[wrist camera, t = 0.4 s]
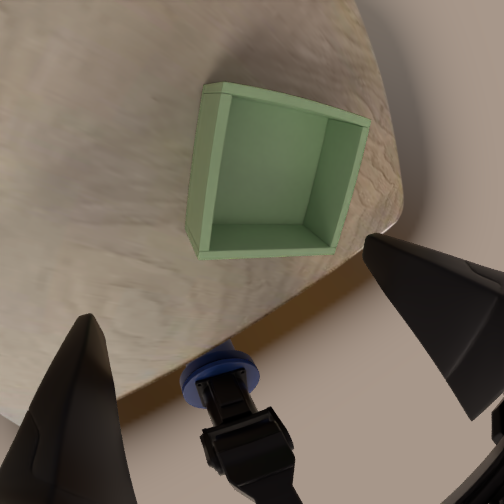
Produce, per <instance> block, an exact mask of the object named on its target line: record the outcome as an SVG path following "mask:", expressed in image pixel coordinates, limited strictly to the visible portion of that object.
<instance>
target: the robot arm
mask: <svg viewBox="0 0 504 504" xmlns="http://www.w3.org/2000/svg"><path fill="white" fill-rule="evenodd" d="M362 256H363V260H364V262H365V264H366V266H367V267H368V269H369V270H370V272H371V273H372V275H373V276H374V278H375V279H376V281H377V283H378V284H379V286H380V287H381V289H382V290H383V292H384V293H385V295H386V296H387V297H388V299H389V300H390V302H391V303H392V304H393V305H394V307H395V308H396V310H397V311H398V312H399V314H400V315H401V316H402V318H403V319H404V320H405V321H406V323H407V324H408V326H409V327H410V329H411V330H412V331H413V333H414V334H415V336H416V337H417V338H418V340H419V341H420V342H421V344H422V345H423V347H424V348H425V350H426V351H427V353H428V354H429V356H430V357H431V359H432V360H433V361H434V363H435V365H436V366H437V368H438V369H439V371H440V372H441V374H442V375H443V377H444V378H445V379H446V382H447V383H448V385H449V386H450V388H451V389H452V391H453V393H454V394H455V396H456V397H457V399H458V401H459V402H460V404H461V406H462V407H463V409H464V411H465V412H466V414H467V415H468V417H469V418H470V420H471V421H473V420H474V419H475V418H476V417H477V416H479V415H480V414H481V413H482V412H483V411H484V410H485V409H486V408H487V407H488V406H490V404H492V402H494V401H495V400H496V399H497V398H498V397H499V396H500V395H501V394H502V393H503V394H504V272H501V271H498V270H494V269H491V268H488V267H484V266H481V265H478V264H475V263H472V262H469V261H467V260H463V259H460V258H457V257H454V256H451V255H448V254H445V253H442V252H439V251H436V250H433V249H430V248H427V247H423V246H420V245H417V244H414V243H410V242H407V241H404V240H400V239H397V238H394V237H390V236H387V235H383V234H380V233H373V234H370V235H368V236H367V237H366V239H365V243H364V249H363V254H362ZM195 386H196V389H197V392H198V394H199V397H200V400H201V403H202V406H203V407H204V408H207V410H208V413H209V416H210V419H211V421H212V424H213V427H211V428H208V429H206V428H205V429H202V431H203V434H202V435H201V436H200V439H201V442H202V445H203V448H204V452H205V456H206V460H207V463H208V465H209V466H210V467H212V468H214V469H215V470H216V471H217V472H218V473H219V475H220V476H221V475H226V477H227V479H228V481H229V483H230V484H231V485H232V487H233V488H234V489H235V490H236V491H238V492H239V493H241V494H242V495H244V496H245V497H247V498H249V499H250V500H252V501H253V502H255V503H256V504H303V503H302V501H301V500H300V498H299V496H298V494H297V493H296V491H295V489H294V487H293V485H292V483H293V475H294V466H295V456H294V454H293V452H292V450H293V449H294V446H293V442H292V440H291V437H290V435H289V433H288V431H287V429H286V428H285V426H284V425H283V423H282V422H281V420H280V419H279V418H278V416H277V415H276V413H275V412H274V410H273V409H272V407H268V408H267V409H264V410H262V411H259V412H258V410H257V408H256V406H255V404H254V402H253V400H252V398H251V396H250V394H249V392H248V387H247V375H246V370H245V368H239V369H236V370H233V371H229V372H226V373H223V374H219V375H216V376H212V377H209V378H205V379H201V380H198V381H196V382H195ZM492 440H493V441H494V443H495V444H496V447H495V448H494V449H493V450H492V451H491V453H490V454H489V455H488V456H487V457H486V458H485V460H484V461H483V462H482V463H481V464H480V465H479V466H478V467H477V468H476V470H475V471H474V472H473V473H472V474H471V475H470V476H469V477H468V478H467V479H466V480H465V481H464V482H463V483H462V484H461V485H460V486H459V487H458V488H457V489H456V490H455V491H454V492H453V493H452V494H451V495H450V496H448V497H447V498H446V499H445V500H444V501H443V502H442V503H441V504H488V503H489V504H504V398H503V399H502V400H501V401H500V403H499V404H498V405H497V406H496V408H495V409H494V410H493V411H492ZM0 504H137V501H136V497H135V494H134V490H133V486H132V482H131V478H130V474H129V469H128V465H127V460H126V456H125V451H124V446H123V440H122V435H121V429H120V423H119V416H118V409H117V402H116V394H115V387H114V381H113V376H112V372H111V367H110V362H109V357H108V351H107V346H106V340H105V336H104V334H103V331H102V330H101V328H100V326H99V324H98V322H97V321H96V319H95V317H94V316H93V314H91V313H89V314H85V315H81V316H79V317H78V318H77V320H76V322H75V323H74V325H73V326H72V328H71V330H70V331H69V333H68V335H67V336H66V338H65V340H64V342H63V343H62V345H61V347H60V349H59V350H58V352H57V354H56V356H55V358H54V359H53V361H52V363H51V365H50V367H49V369H48V370H47V372H46V374H45V376H44V378H43V380H42V382H41V384H40V386H39V388H38V390H37V392H36V394H35V396H34V398H33V400H32V402H31V404H30V406H29V411H27V413H26V415H25V417H24V419H23V422H22V424H21V426H20V428H19V430H18V432H17V435H16V437H15V439H14V441H13V443H12V445H11V447H10V449H9V451H8V453H7V455H6V457H5V459H4V461H3V463H2V465H1V467H0Z"/></svg>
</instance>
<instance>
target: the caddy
mask: <svg viewBox="0 0 504 504" xmlns="http://www.w3.org/2000/svg"><path fill="white" fill-rule="evenodd" d="M370 123H371V120H370V119H368V118H365V117H362V116H359V115H356V114H354V113H351V112H348V111H345V110H342V109H339V108H335V107H332V106H329V105H326V104H322V103H319V102H315V101H312V100H308V99H305V98H301V97H297V96H293V95H289V94H285V93H281V92H277V91H272V90H268V89H263V88H258V87H253V86H248V85H243V84H237V83H231V82H225V81H224V82H217V83H211V84H205V85H203V91H202V97H201V103H200V109H199V115H198V122H197V128H196V135H195V142H194V150H193V157H192V165H191V173H190V182H189V191H188V200H187V210H186V221H185V230H186V232H187V235H188V237H189V240H190V242H191V244H192V247H193V249H194V251H195V254H196V256H197V258H198V260H216V259H241V258H265V257H289V256H312V255H334V253H335V250H336V247H337V244H338V241H339V238H340V235H341V232H342V228H343V225H344V222H345V218H346V215H347V212H348V208H349V205H350V201H351V198H352V194H353V191H354V187H355V184H356V180H357V176H358V172H359V169H360V165H361V161H362V157H363V153H364V149H365V145H366V141H367V136H368V132H369V127H370Z"/></svg>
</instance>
